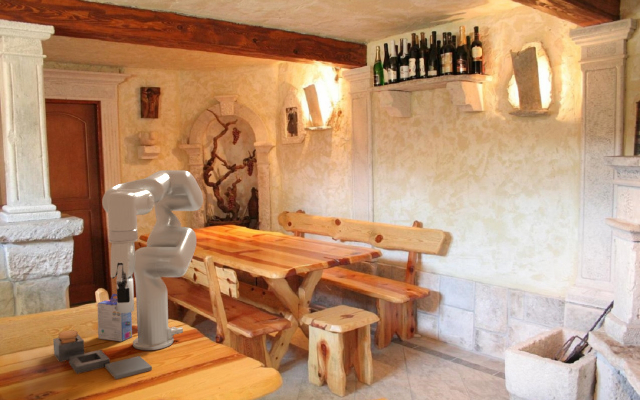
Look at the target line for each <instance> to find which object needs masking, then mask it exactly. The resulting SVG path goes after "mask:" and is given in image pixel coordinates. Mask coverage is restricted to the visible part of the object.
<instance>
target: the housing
mask: <svg viewBox="0 0 640 400" xmlns="http://www.w3.org/2000/svg"><path fill="white" fill-rule="evenodd" d="M84 353H85V340H84V339H83V338H82V337H81V336H80V335H79V334H78V336H77V337H76V341H72V342H67V343H61V339H59V337H56V338H53V355H54V357H55V356H56V357H55V358H56V360H59V361H58V363H61V362H65V360H66V361H69V357H71V356H75V355H80V354H84Z"/></svg>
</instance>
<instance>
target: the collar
mask: <svg viewBox="0 0 640 400" xmlns="http://www.w3.org/2000/svg"><path fill="white" fill-rule="evenodd" d="M110 361H111V359H110V357H108V355H106V354H105V352H103V350H101V349H98V350H94V351H90V352H84V354H80V355H75V356H71V357H69V360H68V363H69V365H70V367H71V368H72V369H73V370H74V372H75V373H76V374H77V375H78V374H81V373H86V372H90V371H93V370H98V369H102V368H105V364H108V363H111V362H110Z"/></svg>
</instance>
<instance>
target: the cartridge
mask: <svg viewBox="0 0 640 400" xmlns="http://www.w3.org/2000/svg"><path fill="white" fill-rule="evenodd" d="M123 281H125V279H124V280H123ZM116 282H117V279H116ZM128 288H129V295H130V301H129V302H128V303H118V302H117V308H118V312H119V313H129V312H131V313H132V312H134V311H135V301H134V300H135V299H134V298H135V297H134V296H135V295H134V277H133V278H128Z"/></svg>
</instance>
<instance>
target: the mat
mask: <svg viewBox="0 0 640 400" xmlns="http://www.w3.org/2000/svg"><path fill="white" fill-rule="evenodd" d="M104 368H105V369H106V370H107V371H108V372H109V374H111V376H112V377H114V379H115V380H118V379H122V378H126V377H131V376H134V375H138V374H142V373H145V372H151V371H152V370H153V367H152V365H151V364H149V362H148V361H146V360H145V359H144V358H143V357H142V356H140V355H137V356H133V357H129V358H125V359H122V360H117V361H113V362H110V363H108V364H105V367H104Z"/></svg>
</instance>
